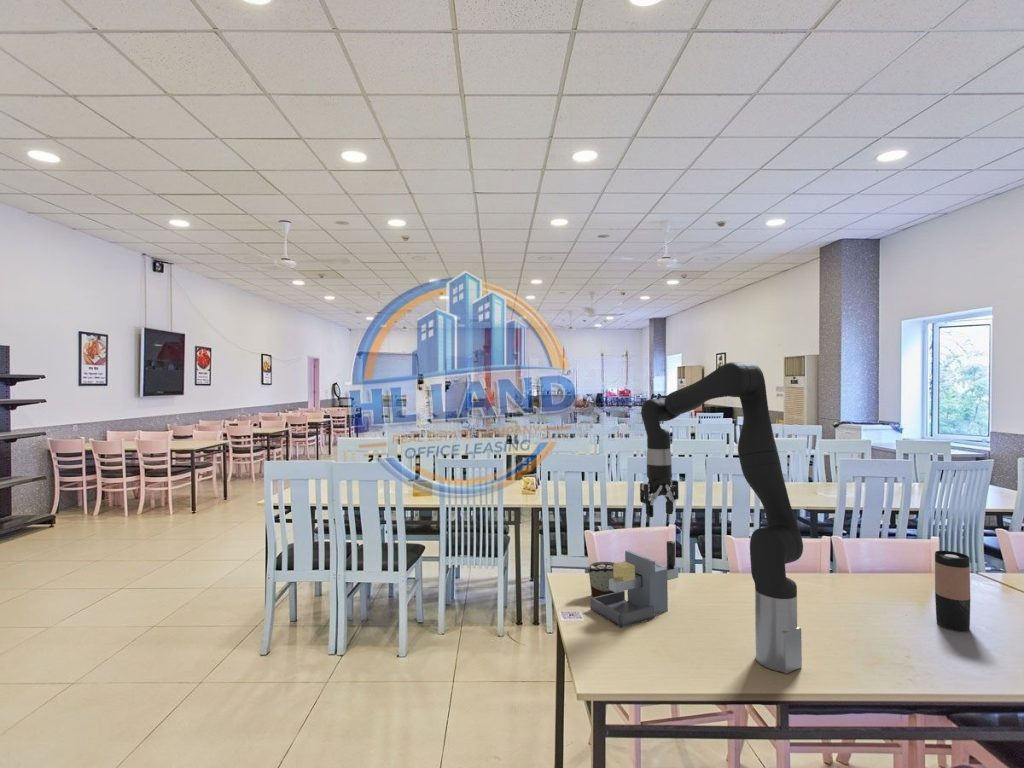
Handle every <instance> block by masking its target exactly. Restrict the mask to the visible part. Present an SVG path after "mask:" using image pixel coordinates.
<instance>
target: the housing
mask: <svg viewBox="0 0 1024 768" xmlns="http://www.w3.org/2000/svg"><path fill="white" fill-rule="evenodd" d="M624 553H625V554H624V556H625V558H624V559H625V560H624V561H625V562H628V563H630V564H632V565H634V566H635V573H637V574H640V575H642V586H641V587H637V588H633V589H629V590H627V601H628V602H630V603H632V604H633V605H635V606H637V607H639V608H645V607H648V606H654V614H655V615H658V614H661V612H662V613H666V612H668V611H669V610H668V607H669V606H668V605H669V604H668V602H669V601H668V594H669V593H668V589H669V588H668V580H667V569H666V568H663V567H664V566H661V565H658V564H656V560H653V559H651V558H648V557H646V556H643V555H640V554H639V553H636V552H633V551H631V550H625V551H624Z"/></svg>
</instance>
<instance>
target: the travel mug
mask: <svg viewBox="0 0 1024 768" xmlns="http://www.w3.org/2000/svg"><path fill="white" fill-rule="evenodd" d="M970 572H971V568H970V557H969V556H968V555H967V554H964V553H961V552H957V551H950V550H936V551H934V601H935V618H936V624H937V625H938V626H940V627H942V628H944V629H947V630H950V631H955V632H962V633H963V632H964V633H965V632H970V627H971V574H970Z"/></svg>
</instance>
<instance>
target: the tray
mask: <svg viewBox="0 0 1024 768" xmlns="http://www.w3.org/2000/svg"><path fill="white" fill-rule="evenodd" d="M625 594H626V590H625V591H620V592H616V593H615V592H614V593H610V594H606V595H601V596H597V597H593V598H592V597H590V610H591V611H592V612H594V613H595V614H597V615H599V616H600V617H602V618H604V619H605V618H606V619H605V620H607V621H608V620H609V621H608V622H610V623H612V624H613V623H614V625H615V626H617V627H618V626H619V627H618V628H620V629H622V628H626V627H628V626H632V624H633V625H636V624H639V623H643V622H647V621H650V619H651V620H654V619H655V615H654V606H648V607H645V608H639V607H637V606H635V605H633V604H632V603H630V602H628V600H626V599H625V597H626V595H625ZM653 618H654V619H653ZM646 620H647V621H646ZM625 626H626V627H625Z"/></svg>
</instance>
